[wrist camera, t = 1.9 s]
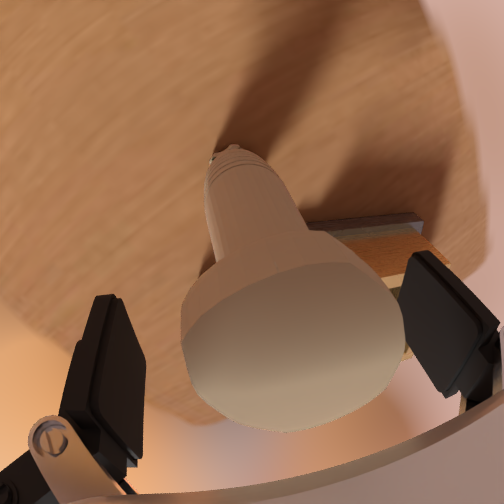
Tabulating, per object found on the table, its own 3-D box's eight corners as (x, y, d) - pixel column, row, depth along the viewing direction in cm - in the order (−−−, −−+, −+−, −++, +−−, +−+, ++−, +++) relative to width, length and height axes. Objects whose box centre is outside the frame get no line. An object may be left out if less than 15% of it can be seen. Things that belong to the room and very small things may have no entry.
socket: (186, 237, 21) (186, 300, 16) (413, 212, 23) (462, 255, 18) (207, 343, 27) (213, 405, 22) (388, 311, 29) (418, 358, 24)
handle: (245, 105, 17) (383, 216, 5) (287, 191, 21) (409, 383, 8) (173, 143, 18) (129, 341, 5) (223, 224, 21) (269, 444, 9)
